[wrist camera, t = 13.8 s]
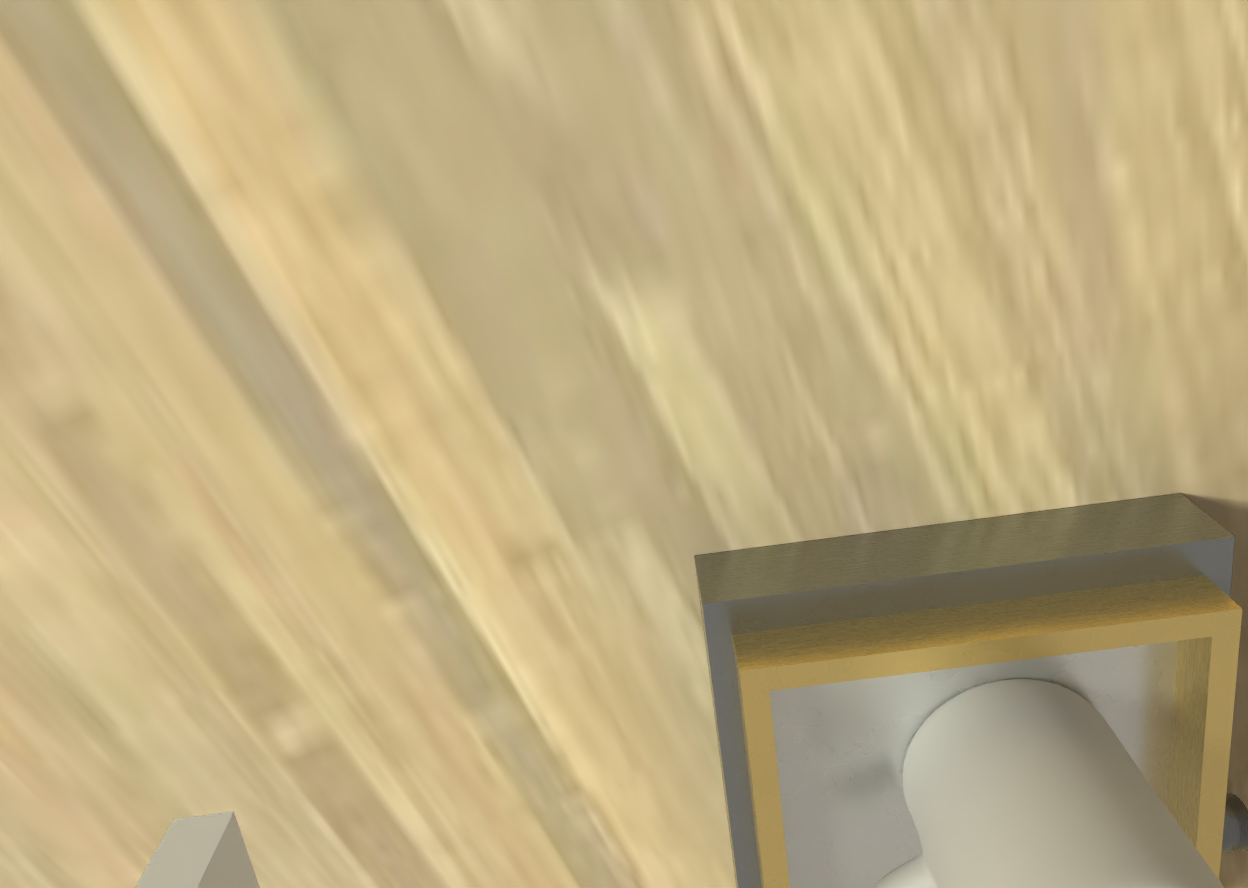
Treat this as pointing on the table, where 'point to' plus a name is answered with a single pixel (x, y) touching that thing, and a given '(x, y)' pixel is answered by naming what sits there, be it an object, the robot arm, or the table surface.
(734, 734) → the yellow and grey tray
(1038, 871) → the mug
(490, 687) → the table surface
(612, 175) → the table surface
